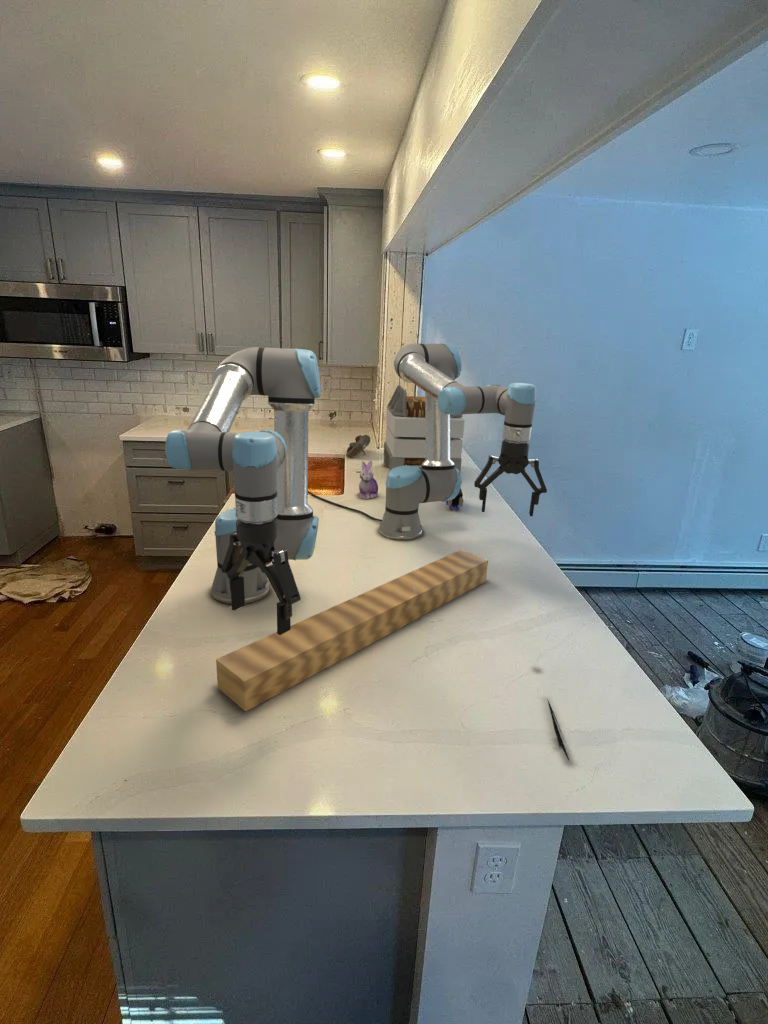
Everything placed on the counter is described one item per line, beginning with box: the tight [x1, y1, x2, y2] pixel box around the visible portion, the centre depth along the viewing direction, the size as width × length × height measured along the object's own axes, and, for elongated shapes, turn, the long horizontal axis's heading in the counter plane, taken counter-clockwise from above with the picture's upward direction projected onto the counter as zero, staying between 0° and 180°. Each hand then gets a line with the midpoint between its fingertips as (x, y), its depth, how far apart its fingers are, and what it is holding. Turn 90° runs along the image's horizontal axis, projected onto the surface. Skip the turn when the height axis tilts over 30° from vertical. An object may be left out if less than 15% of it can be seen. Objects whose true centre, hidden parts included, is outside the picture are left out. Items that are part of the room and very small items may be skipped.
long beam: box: [215, 549, 489, 712], centre depth 141 cm, size 83×10×7 cm, turn 137°
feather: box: [536, 668, 570, 761], centre depth 113 cm, size 2×28×2 cm
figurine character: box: [444, 488, 464, 511], centre depth 230 cm, size 7×8×15 cm
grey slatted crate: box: [383, 384, 465, 475], centre depth 268 cm, size 34×33×41 cm
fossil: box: [345, 434, 371, 459], centre depth 304 cm, size 22×10×15 cm
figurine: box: [358, 460, 379, 500], centre depth 236 cm, size 9×10×15 cm
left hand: (260, 619), depth 111 cm, fingers open, 13 cm apart
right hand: (506, 512), depth 164 cm, fingers open, 13 cm apart
